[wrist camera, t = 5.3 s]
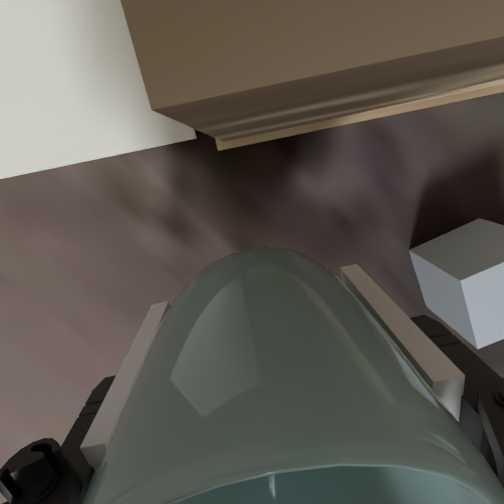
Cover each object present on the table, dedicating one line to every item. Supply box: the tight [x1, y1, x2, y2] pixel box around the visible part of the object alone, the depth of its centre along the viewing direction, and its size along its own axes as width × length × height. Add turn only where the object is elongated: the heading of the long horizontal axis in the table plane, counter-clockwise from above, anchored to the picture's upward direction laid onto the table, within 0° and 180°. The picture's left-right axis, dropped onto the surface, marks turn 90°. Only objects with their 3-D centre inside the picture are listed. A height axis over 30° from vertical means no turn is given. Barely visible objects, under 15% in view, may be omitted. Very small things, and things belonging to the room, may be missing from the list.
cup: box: [83, 246, 504, 504], centre depth 9 cm, size 8×8×10 cm
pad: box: [0, 0, 197, 179], centre depth 15 cm, size 13×13×1 cm
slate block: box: [409, 218, 504, 349], centre depth 19 cm, size 5×5×5 cm
